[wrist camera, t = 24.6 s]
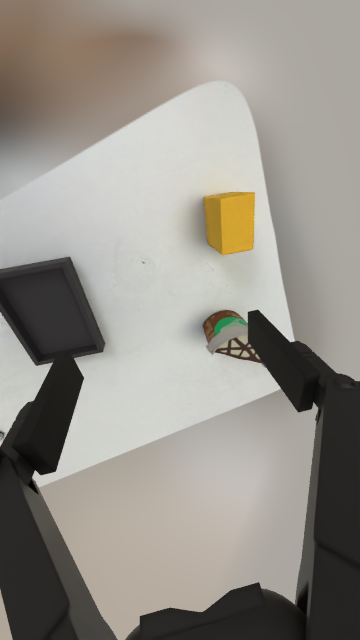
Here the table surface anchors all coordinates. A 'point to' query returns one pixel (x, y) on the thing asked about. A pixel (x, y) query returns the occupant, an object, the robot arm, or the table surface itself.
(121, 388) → the table surface
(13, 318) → the black shallow rectangular tray
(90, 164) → the table surface
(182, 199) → the table surface
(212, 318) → the food container
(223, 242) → the yellow block
